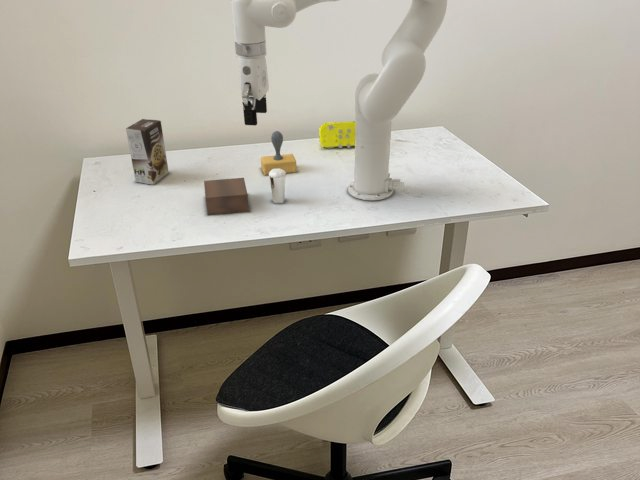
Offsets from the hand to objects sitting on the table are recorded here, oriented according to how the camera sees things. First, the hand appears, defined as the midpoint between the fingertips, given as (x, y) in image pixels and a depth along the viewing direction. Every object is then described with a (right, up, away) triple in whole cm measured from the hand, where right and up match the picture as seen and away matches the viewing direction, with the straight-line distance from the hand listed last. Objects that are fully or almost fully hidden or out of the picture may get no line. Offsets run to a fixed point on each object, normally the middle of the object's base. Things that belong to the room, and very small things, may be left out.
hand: (256, 118), depth 162 cm
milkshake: (+6, -20, +10) cm, 23 cm away
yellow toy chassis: (+25, +5, +43) cm, 50 cm away
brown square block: (-9, -21, +8) cm, 24 cm away
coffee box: (-33, -10, +23) cm, 42 cm away
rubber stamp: (+4, -7, +27) cm, 28 cm away
